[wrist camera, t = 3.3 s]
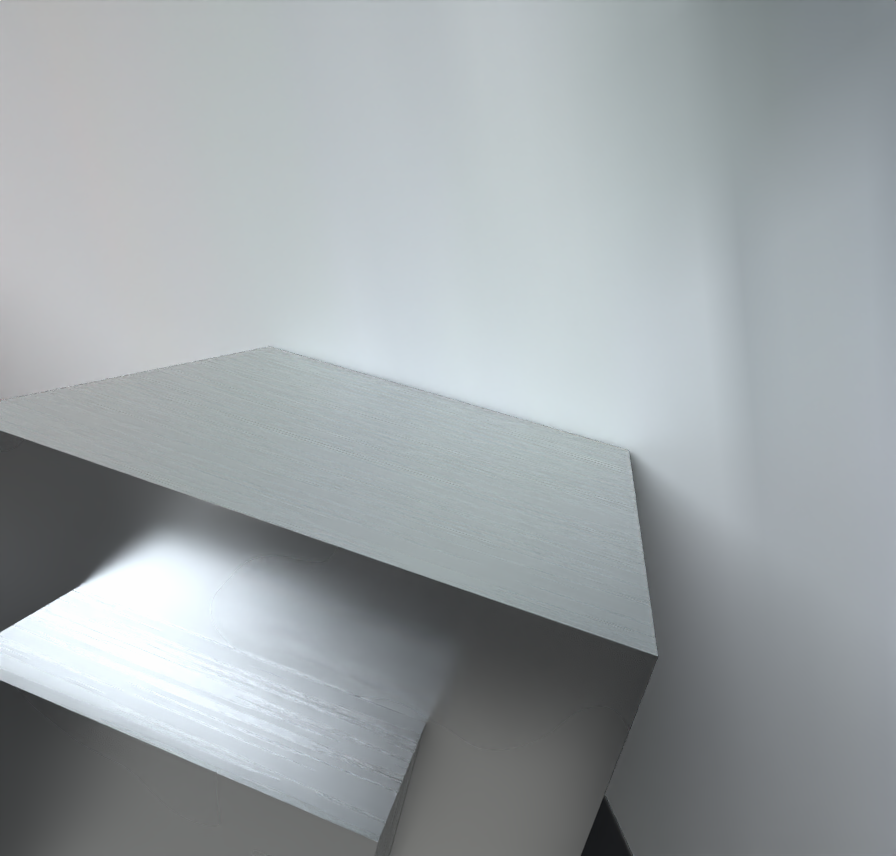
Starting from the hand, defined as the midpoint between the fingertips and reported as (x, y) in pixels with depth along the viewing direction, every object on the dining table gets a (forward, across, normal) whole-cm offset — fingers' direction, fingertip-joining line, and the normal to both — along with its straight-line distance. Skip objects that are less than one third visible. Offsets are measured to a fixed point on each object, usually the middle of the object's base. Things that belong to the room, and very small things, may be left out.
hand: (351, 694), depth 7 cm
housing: (+1, 0, 0) cm, 1 cm away
